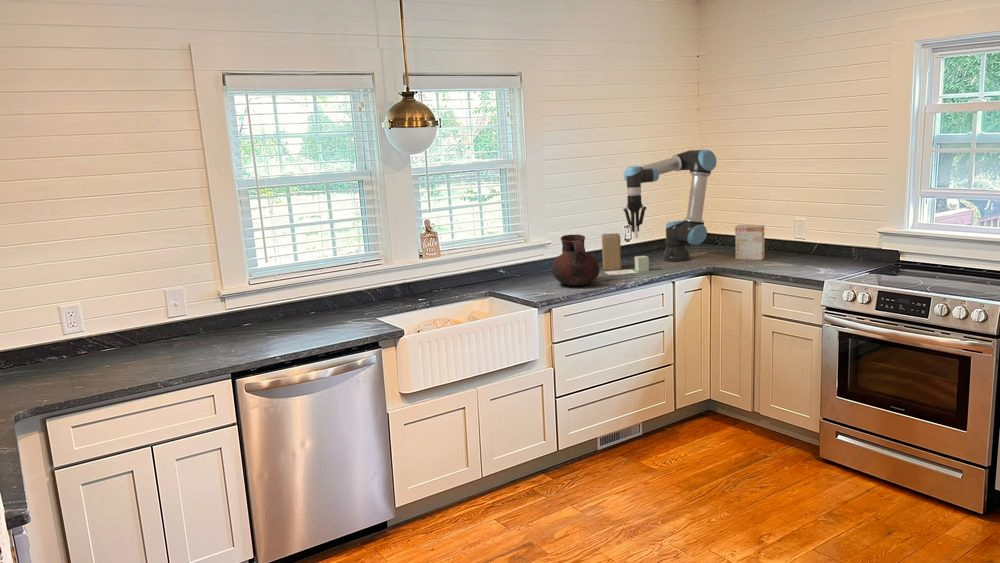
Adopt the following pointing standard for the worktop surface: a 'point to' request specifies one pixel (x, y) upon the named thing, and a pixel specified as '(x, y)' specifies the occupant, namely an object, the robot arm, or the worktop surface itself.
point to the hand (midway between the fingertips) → (635, 237)
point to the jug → (574, 263)
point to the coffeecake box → (749, 242)
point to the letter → (621, 272)
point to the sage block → (641, 263)
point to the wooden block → (611, 251)
